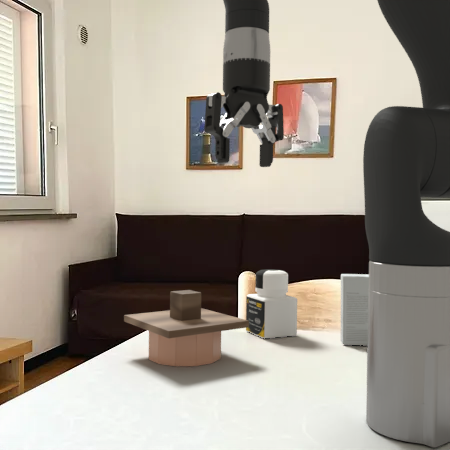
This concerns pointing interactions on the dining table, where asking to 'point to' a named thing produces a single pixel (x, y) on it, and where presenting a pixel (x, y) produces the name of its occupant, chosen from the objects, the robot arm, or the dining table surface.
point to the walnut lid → (185, 318)
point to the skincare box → (354, 309)
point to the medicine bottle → (271, 306)
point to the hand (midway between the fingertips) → (245, 164)
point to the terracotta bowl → (185, 349)
